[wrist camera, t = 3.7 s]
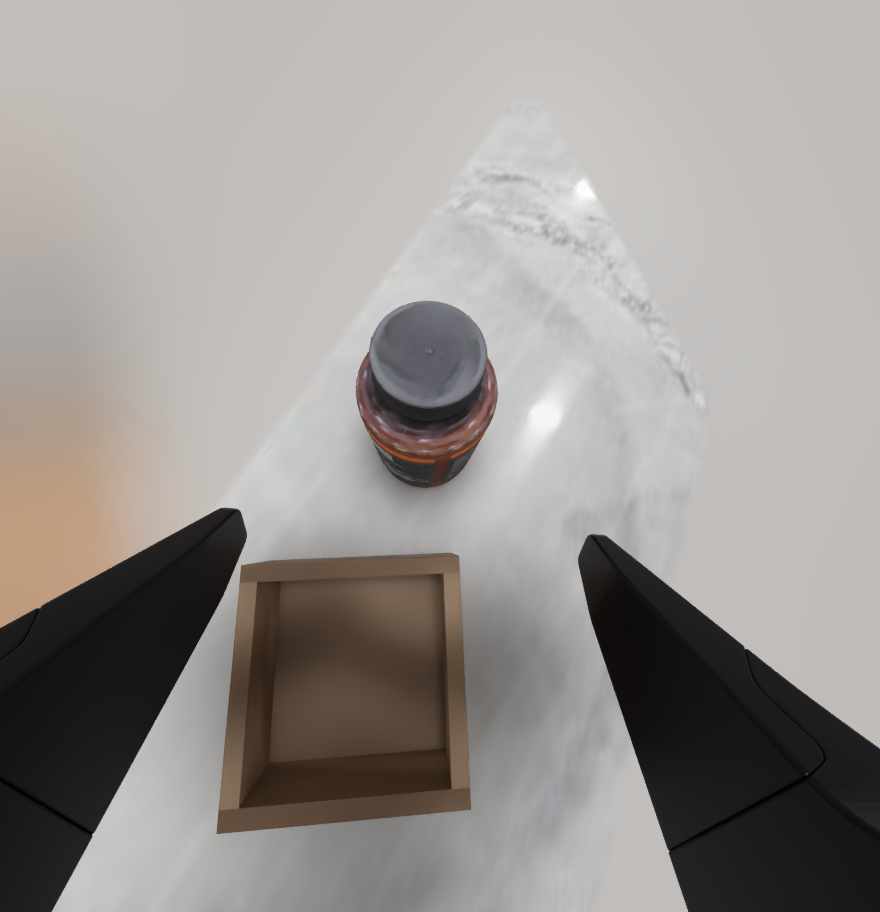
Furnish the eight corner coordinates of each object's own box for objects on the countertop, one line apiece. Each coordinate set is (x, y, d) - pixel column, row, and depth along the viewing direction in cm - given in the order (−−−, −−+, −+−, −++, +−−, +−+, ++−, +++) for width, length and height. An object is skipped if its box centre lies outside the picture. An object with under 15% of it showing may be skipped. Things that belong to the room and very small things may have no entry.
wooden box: (460, 758, 18) (471, 809, 15) (255, 776, 17) (216, 834, 14) (452, 553, 21) (458, 556, 17) (271, 560, 20) (241, 565, 17)
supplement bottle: (478, 411, 23) (533, 295, 12) (460, 498, 22) (505, 457, 11) (391, 391, 23) (366, 257, 12) (367, 477, 21) (315, 414, 10)
